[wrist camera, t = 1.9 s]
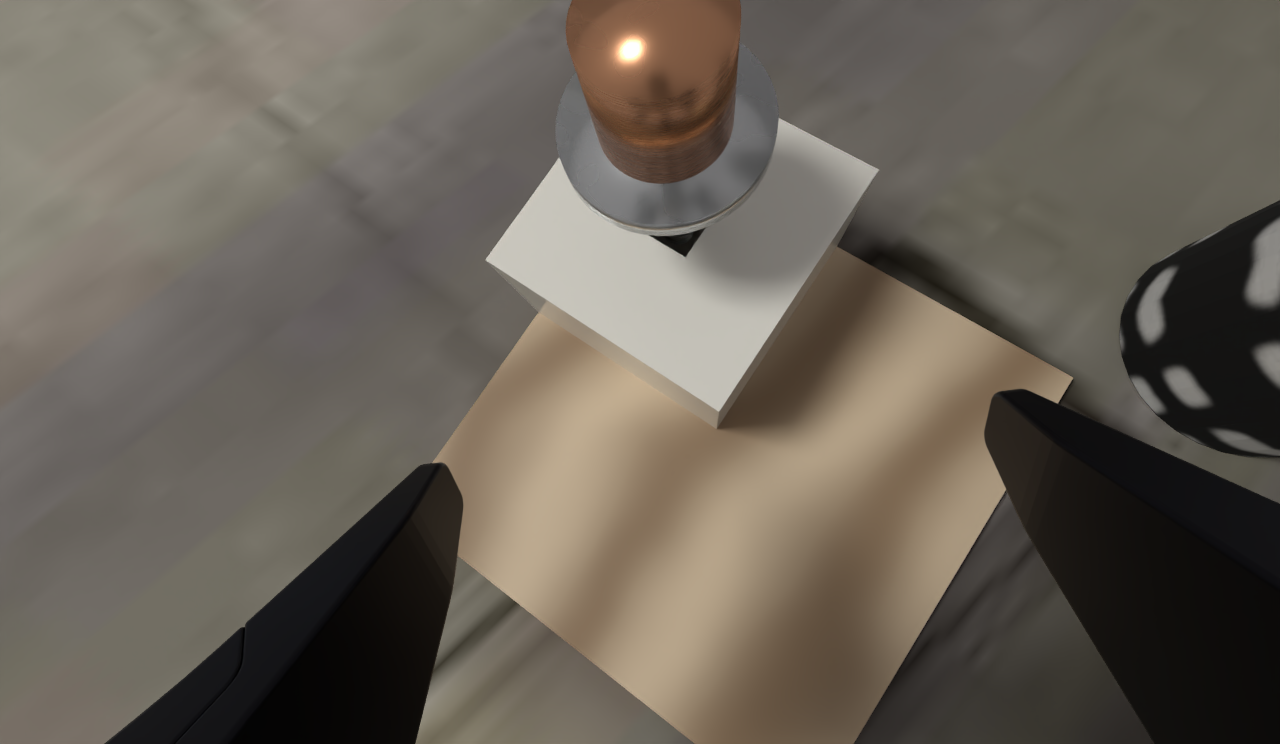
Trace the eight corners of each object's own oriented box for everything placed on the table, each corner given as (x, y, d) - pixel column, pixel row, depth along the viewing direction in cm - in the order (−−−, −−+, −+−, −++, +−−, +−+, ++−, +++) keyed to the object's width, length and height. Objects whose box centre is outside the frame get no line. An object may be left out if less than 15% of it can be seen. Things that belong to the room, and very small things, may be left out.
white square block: (836, 246, 24) (878, 169, 18) (716, 429, 23) (718, 411, 17) (655, 146, 25) (639, 45, 20) (538, 312, 25) (485, 260, 19)
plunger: (787, 206, 19) (855, -33, 10) (700, 334, 19) (692, 202, 10) (657, 134, 20) (615, -139, 11) (572, 254, 20) (459, 69, 11)
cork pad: (1065, 380, 22) (1073, 377, 22) (800, 820, 20) (802, 829, 20) (656, 152, 26) (655, 146, 25) (405, 508, 24) (399, 509, 24)
